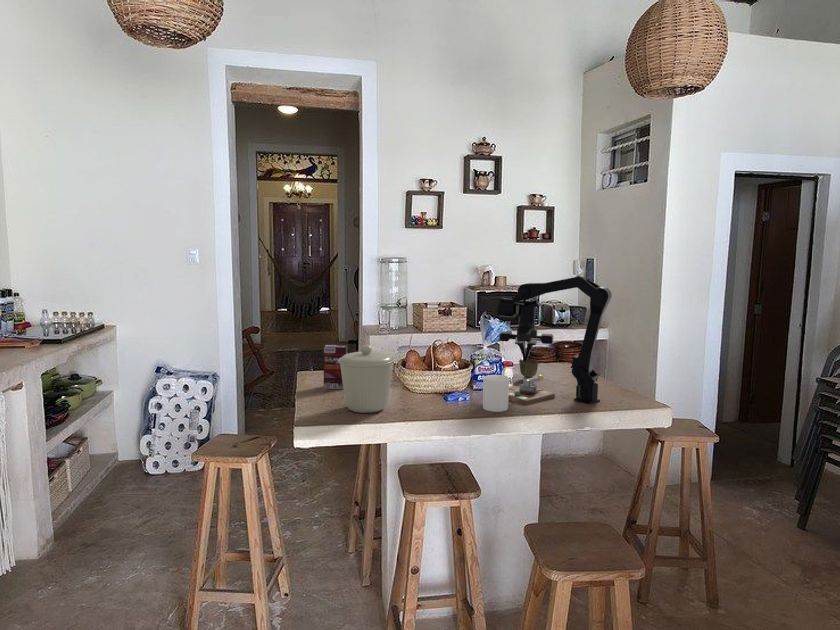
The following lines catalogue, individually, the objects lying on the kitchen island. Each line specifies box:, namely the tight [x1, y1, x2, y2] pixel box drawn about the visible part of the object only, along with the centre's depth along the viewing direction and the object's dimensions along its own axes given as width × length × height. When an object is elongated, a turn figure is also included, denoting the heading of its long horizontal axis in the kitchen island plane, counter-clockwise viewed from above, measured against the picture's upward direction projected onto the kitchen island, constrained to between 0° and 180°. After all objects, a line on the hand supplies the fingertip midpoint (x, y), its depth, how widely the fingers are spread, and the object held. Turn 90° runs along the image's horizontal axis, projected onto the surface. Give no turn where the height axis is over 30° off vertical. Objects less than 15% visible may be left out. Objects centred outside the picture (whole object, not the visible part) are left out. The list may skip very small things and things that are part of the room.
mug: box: [482, 374, 510, 413], centre depth 182 cm, size 8×10×12 cm
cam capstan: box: [518, 374, 544, 394], centre depth 195 cm, size 11×6×5 cm, turn 133°
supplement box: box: [323, 344, 348, 390], centre depth 205 cm, size 9×5×16 cm, turn 92°
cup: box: [518, 358, 539, 380], centre depth 218 cm, size 8×7×8 cm
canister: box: [338, 344, 395, 414], centre depth 178 cm, size 18×18×21 cm
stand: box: [508, 385, 556, 406], centre depth 195 cm, size 15×15×3 cm
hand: (525, 361), depth 199 cm, fingers closed
